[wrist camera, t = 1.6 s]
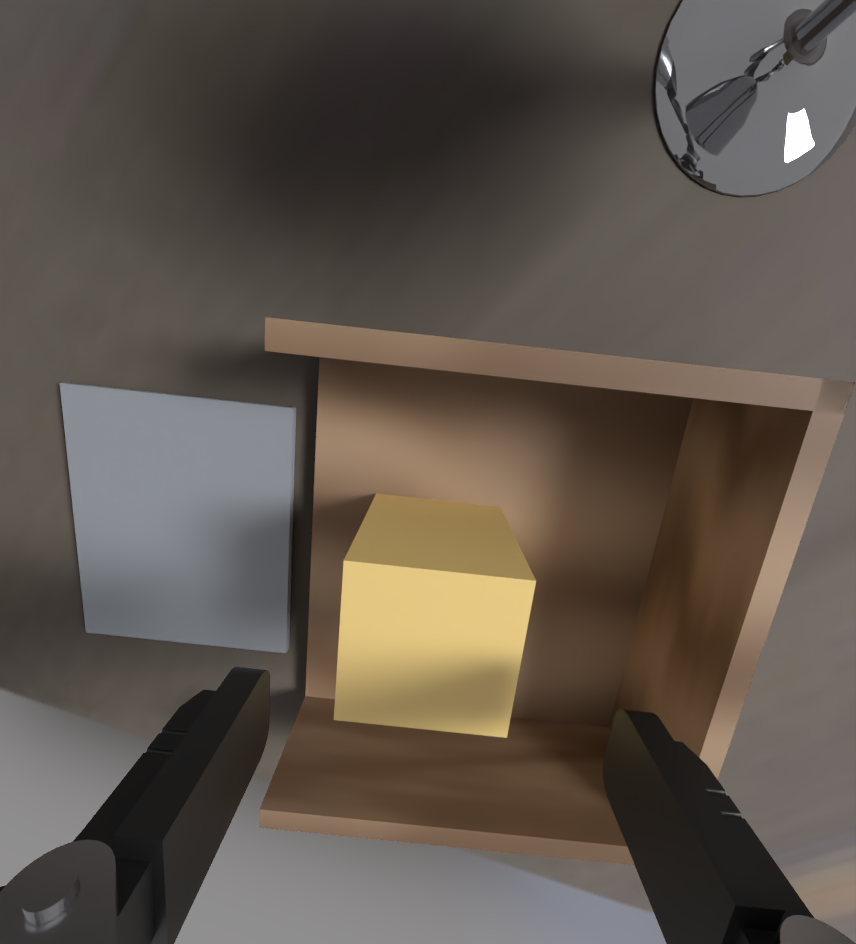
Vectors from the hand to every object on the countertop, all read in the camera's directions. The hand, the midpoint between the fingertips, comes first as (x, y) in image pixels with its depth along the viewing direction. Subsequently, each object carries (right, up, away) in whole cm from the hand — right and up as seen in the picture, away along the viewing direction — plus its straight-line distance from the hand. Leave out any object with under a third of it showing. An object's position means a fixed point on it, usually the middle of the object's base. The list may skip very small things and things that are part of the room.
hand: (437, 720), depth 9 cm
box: (+2, +2, +8) cm, 9 cm away
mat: (-10, +3, +8) cm, 14 cm away
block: (0, +2, +8) cm, 8 cm away
